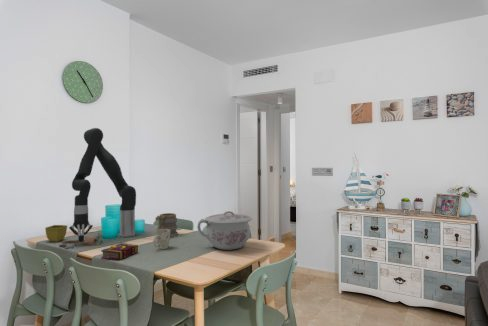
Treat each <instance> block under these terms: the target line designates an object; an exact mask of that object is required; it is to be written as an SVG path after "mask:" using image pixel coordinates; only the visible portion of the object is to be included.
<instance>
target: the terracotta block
mask: <svg viewBox="0 0 488 326" xmlns="http://www.w3.org/2000/svg"><path fill="white" fill-rule="evenodd" d="M95 236H96V235H86V236H84V240H85V242H84V243H89V242H96V241H95V239H96V237H95Z"/></svg>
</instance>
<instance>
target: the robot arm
mask: <svg viewBox="0 0 488 326" xmlns="http://www.w3.org/2000/svg"><path fill="white" fill-rule="evenodd" d="M103 138H104V133H103V131H102V129H100V128H98V127H93V128H90V129H87V130H86V131H84V133H83V139H84V141H85V142H86V144H87V148H86V150H85V152H84V154H83V156H82V157H81V160H80V164H79V167H78V170H77V173H76V174H75V176H74V178H72V179H73V180H72V181H71V188H72V190H74V191H77V192H79V193H78V195H75V196H74V208H73V223H72V225H70V227H69V230H70V231H71V232H72V233H73V235H75V236H77V237H78V239H77V240H79V241H80V242H79V243H84V242H83V240H85V235H87V234H88V233H89V232H90V231H91V229H93V227H94V225H93V224H91V223H90V222H89V195H90V192H91V188H92V187H91V186H92V185H91V182H90V180H88V179H87V177H89V176H91V175H92V170H93V167H94V163H95V159H96V158H97V160H98V162H99V164H100V165H101V167H102V168H103V170H104V172H105V173H106V175H107V176H108V178H109V179H110V181H111V182H112V184H113V185H114V188H115V190H116V192H117V193H118V195H119V198H121V204H120V207H119V237H123V238H127V237H129V238H130V237H135V236H136V219H135V218H136V215H135V214H136V213H135V212H136V211H135V207H136V204H137V192H136V189H135V187H133V186H132V185H129V184H128V183H127V182H126V179H124V176H123V173H122V169H121V166H120V164H119V162H118V161H117V160H116V157H115V156H113V154H112V153H111V152H109V151H108V150H107V149H106V148H105V147H104V145H103V144H102V141H103ZM86 228H87V229H86ZM85 230H86V231H85Z"/></svg>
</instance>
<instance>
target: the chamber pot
mask: <svg viewBox="0 0 488 326" xmlns="http://www.w3.org/2000/svg"><path fill="white" fill-rule="evenodd" d="M252 220H253V217H251V216H250V215H246V214H241V213H234V212H233V211H224V212H223V213H219V214H218V213H217V214H213V215H208V216H206V217H205V218H201V219H200V220H199V221H198V223H197V227H196V228H197V231H198V232H199V234H200V235H202V236H203V237H204V238H206V239H207V240H208V241H209V243H210V244H212V247H214V248H216V249H218V250H222V251H233V250H234V251H235V250H238V249H241V248H243V247H244V246H245V245H246V243H247V241H248V240H249V236H250V232H251V226H250V224H249V222H250V221H252ZM203 223H204V224H206V229H207V231H206V232H207V234H206V233H204V232H203V230H202V229H201V224H203Z"/></svg>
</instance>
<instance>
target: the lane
mask: <svg viewBox="0 0 488 326" xmlns="http://www.w3.org/2000/svg"><path fill="white" fill-rule="evenodd" d="M102 239H103V235H102V232H98V233H97V235H96V238H95V242H89V243H85V242H79V240H78V239H73V240H71V239H70V240H61V242H62V244H59V245H58V248H59V247H63V248H65V247H66V246H68V245H67V244H65V243H69V244H74V247H75V246H76V247H86V246H88V247H89V246H96V245H97V246H98V245H100V246H101V243H102V241H103V240H102Z"/></svg>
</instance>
